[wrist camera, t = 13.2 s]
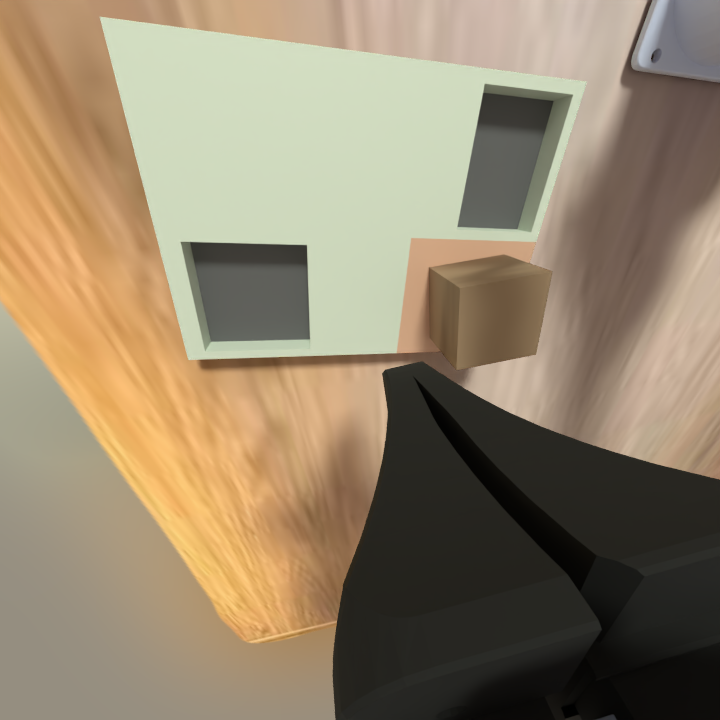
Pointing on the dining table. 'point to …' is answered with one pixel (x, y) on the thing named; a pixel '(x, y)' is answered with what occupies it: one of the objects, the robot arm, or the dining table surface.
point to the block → (487, 309)
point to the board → (327, 182)
